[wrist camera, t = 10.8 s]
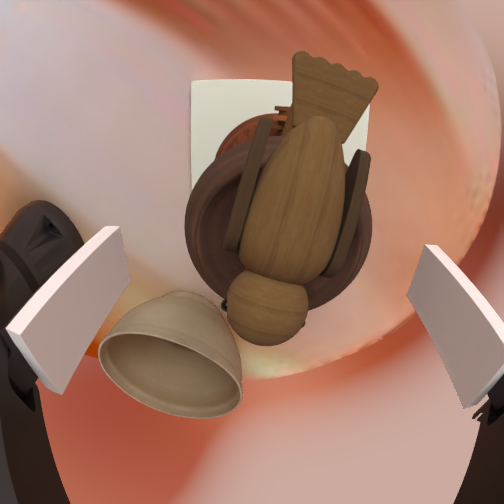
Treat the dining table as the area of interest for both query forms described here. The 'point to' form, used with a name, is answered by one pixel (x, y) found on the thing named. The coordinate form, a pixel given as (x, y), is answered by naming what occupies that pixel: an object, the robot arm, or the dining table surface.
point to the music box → (285, 205)
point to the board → (243, 115)
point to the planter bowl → (175, 357)
